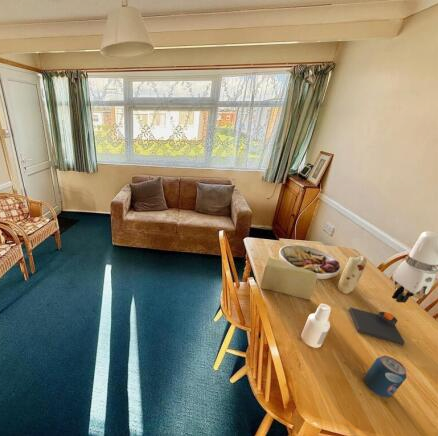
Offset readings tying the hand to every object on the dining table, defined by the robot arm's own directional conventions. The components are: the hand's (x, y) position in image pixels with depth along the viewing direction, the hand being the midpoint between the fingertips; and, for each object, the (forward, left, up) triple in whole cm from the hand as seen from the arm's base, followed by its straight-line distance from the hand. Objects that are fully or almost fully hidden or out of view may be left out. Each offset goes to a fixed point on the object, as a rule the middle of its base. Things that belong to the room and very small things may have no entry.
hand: (398, 299), depth 93 cm
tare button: (0, 0, -10) cm, 10 cm away
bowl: (+25, -34, -13) cm, 44 cm away
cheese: (+38, -4, -13) cm, 40 cm away
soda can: (+13, +34, -13) cm, 39 cm away
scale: (+5, +4, -13) cm, 15 cm away
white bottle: (+30, +24, -13) cm, 40 cm away
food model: (+10, -18, -13) cm, 24 cm away
